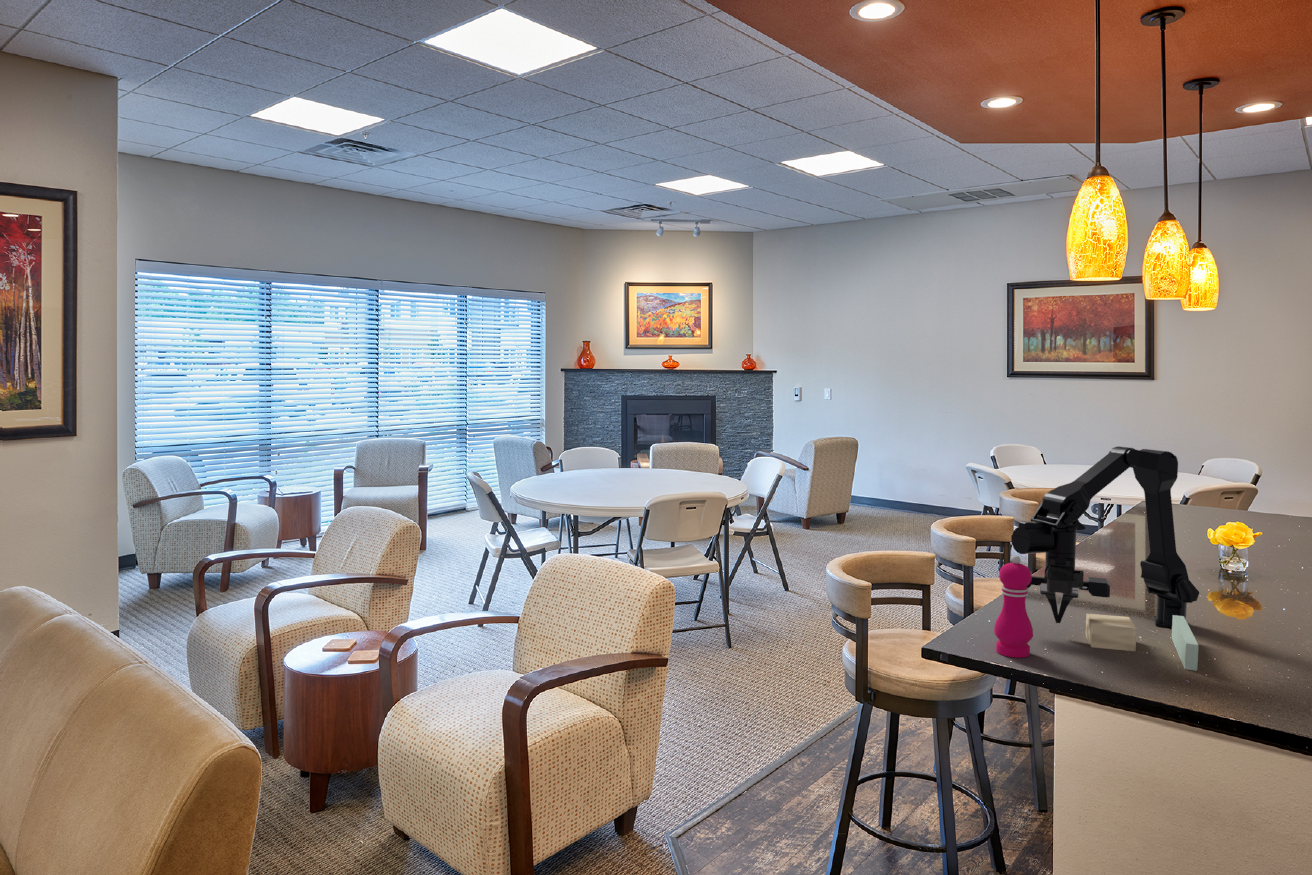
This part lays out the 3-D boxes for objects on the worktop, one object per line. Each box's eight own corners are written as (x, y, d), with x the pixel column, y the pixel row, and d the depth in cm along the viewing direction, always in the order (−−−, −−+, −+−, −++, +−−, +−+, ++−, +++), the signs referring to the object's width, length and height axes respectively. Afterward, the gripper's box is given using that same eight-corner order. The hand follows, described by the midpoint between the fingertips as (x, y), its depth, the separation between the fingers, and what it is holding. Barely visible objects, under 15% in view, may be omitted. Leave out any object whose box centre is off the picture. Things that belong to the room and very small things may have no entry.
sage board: (1171, 637, 175) (1172, 614, 175) (1182, 639, 174) (1183, 616, 174) (1184, 668, 157) (1186, 643, 157) (1197, 670, 156) (1198, 644, 156)
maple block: (1085, 636, 177) (1086, 613, 177) (1127, 639, 175) (1128, 616, 174) (1091, 648, 170) (1092, 624, 170) (1135, 652, 167) (1136, 628, 167)
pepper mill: (1002, 644, 172) (1005, 549, 170) (1038, 652, 167) (1041, 555, 165) (987, 652, 167) (990, 555, 165) (1023, 661, 162) (1027, 561, 160)
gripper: (1010, 554, 172) (1008, 627, 173) (1112, 563, 164) (1109, 639, 165) (1013, 544, 182) (1011, 613, 183) (1109, 552, 174) (1106, 624, 175)
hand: (1057, 622), depth 176 cm, fingers closed
